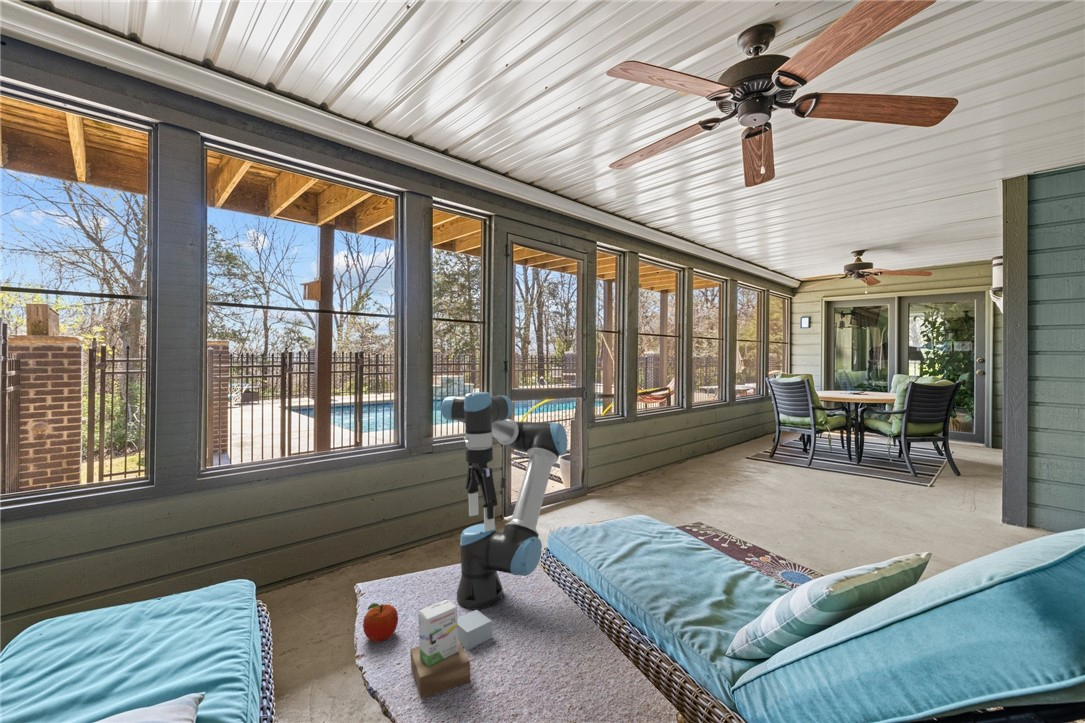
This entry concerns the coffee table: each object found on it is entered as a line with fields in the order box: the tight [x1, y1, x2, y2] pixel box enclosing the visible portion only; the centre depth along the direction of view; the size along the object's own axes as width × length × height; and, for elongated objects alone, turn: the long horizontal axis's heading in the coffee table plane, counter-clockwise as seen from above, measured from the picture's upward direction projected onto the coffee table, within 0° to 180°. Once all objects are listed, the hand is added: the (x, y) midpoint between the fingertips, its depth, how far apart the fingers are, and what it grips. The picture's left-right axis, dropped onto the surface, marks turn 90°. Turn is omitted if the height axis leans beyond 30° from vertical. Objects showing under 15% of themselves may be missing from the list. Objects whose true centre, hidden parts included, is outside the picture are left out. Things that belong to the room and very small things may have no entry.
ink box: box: [417, 599, 458, 666], centre depth 114 cm, size 8×5×12 cm, turn 131°
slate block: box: [457, 609, 493, 651], centre depth 130 cm, size 8×8×5 cm
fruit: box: [362, 602, 399, 643], centre depth 131 cm, size 10×10×10 cm
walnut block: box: [409, 640, 471, 700], centre depth 114 cm, size 12×12×5 cm
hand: (481, 522), depth 129 cm, fingers open, 13 cm apart
